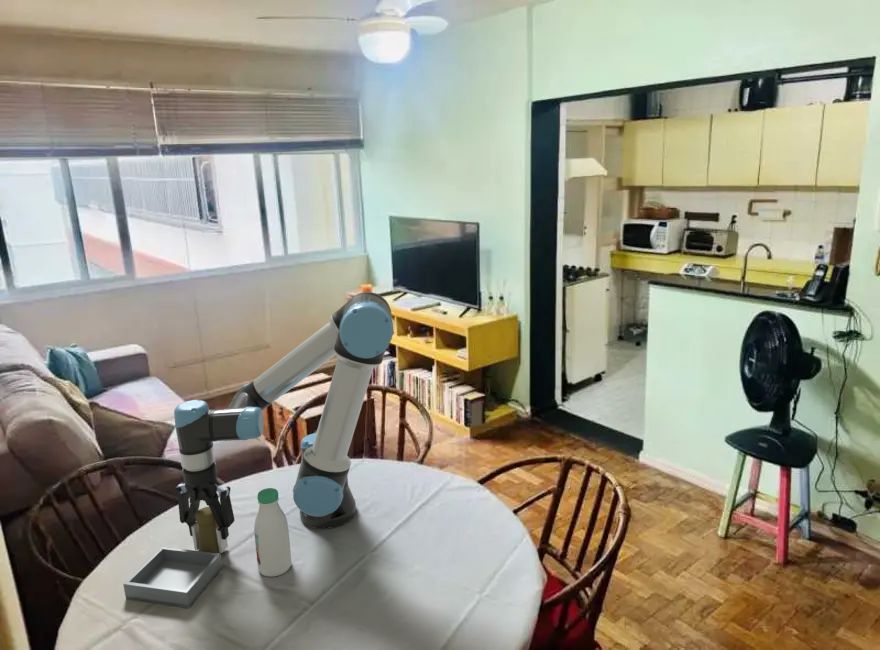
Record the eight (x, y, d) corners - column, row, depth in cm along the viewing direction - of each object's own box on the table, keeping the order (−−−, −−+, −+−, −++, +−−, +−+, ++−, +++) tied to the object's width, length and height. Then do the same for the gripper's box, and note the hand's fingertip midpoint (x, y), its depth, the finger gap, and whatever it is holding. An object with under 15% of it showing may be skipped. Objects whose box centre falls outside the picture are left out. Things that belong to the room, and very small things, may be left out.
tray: (222, 568, 145) (220, 553, 144) (189, 608, 132) (186, 592, 131) (164, 560, 148) (162, 546, 147) (125, 599, 135) (123, 583, 134)
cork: (202, 542, 154) (196, 504, 152) (227, 540, 155) (221, 502, 152) (195, 557, 149) (189, 517, 146) (220, 555, 149) (215, 515, 146)
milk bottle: (297, 560, 148) (291, 486, 142) (279, 580, 141) (272, 503, 135) (270, 554, 150) (263, 481, 145) (251, 574, 143) (243, 498, 138)
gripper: (243, 459, 147) (253, 542, 153) (173, 454, 151) (186, 535, 157) (226, 474, 140) (238, 561, 146) (153, 469, 144) (168, 553, 150)
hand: (211, 547), depth 152 cm, fingers closed on cork, 6 cm apart
